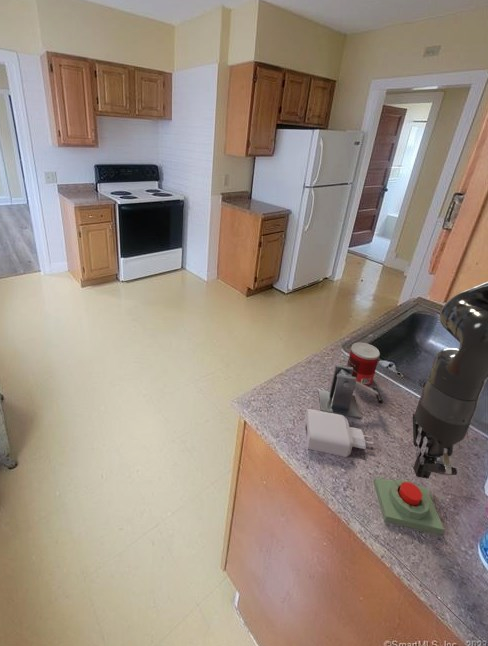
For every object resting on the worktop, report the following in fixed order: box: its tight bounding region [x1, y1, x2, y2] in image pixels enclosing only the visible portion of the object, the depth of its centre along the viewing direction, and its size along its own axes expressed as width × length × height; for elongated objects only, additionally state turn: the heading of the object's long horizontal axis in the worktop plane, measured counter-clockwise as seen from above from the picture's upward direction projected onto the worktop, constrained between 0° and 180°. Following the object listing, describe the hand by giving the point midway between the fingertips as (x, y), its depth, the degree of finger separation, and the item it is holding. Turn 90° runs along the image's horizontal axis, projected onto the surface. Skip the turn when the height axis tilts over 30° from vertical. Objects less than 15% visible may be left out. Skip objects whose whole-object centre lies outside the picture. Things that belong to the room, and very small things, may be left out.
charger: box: [304, 408, 374, 458], centre depth 78 cm, size 5×9×15 cm
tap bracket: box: [317, 364, 362, 420], centre depth 87 cm, size 10×8×12 cm
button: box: [399, 481, 422, 506], centre depth 63 cm, size 4×4×2 cm
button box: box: [373, 476, 445, 536], centre depth 64 cm, size 10×8×4 cm
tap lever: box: [337, 369, 384, 405], centre depth 85 cm, size 12×5×2 cm, turn 77°
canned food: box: [346, 342, 381, 387], centre depth 97 cm, size 8×8×11 cm
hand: (420, 473), depth 62 cm, fingers closed
